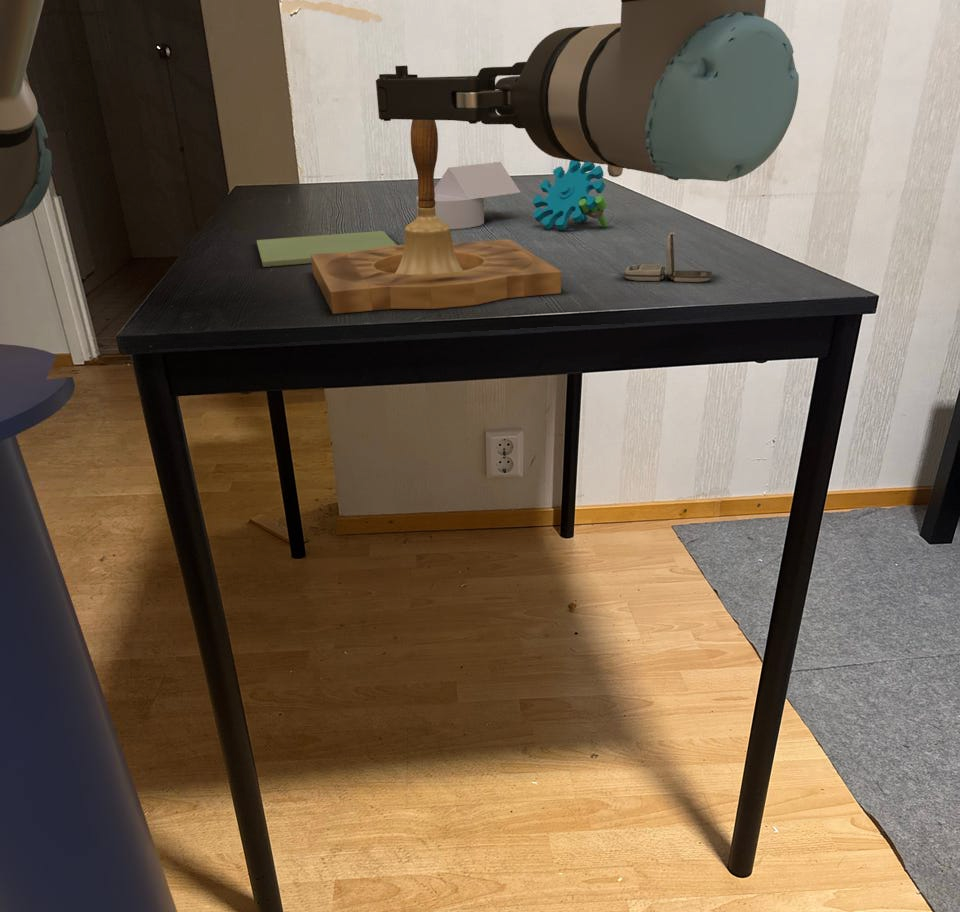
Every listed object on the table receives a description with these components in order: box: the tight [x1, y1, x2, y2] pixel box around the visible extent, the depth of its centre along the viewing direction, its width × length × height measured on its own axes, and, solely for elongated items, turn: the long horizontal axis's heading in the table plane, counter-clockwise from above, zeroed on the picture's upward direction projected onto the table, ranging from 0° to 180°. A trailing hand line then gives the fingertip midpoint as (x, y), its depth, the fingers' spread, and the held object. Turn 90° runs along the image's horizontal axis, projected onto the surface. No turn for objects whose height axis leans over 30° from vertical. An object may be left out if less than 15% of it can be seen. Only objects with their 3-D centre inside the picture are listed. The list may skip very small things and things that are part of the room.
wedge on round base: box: [415, 161, 522, 230], centre depth 118 cm, size 9×7×13 cm
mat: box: [256, 230, 398, 268], centre depth 106 cm, size 16×14×1 cm
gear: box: [532, 160, 609, 230], centre depth 114 cm, size 11×6×10 cm
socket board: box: [311, 238, 562, 315], centre depth 89 cm, size 22×21×2 cm
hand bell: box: [395, 120, 463, 275], centre depth 85 cm, size 8×8×16 cm
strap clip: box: [624, 231, 713, 283], centre depth 87 cm, size 8×3×4 cm, turn 76°
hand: (462, 89), depth 73 cm, fingers open, 13 cm apart
